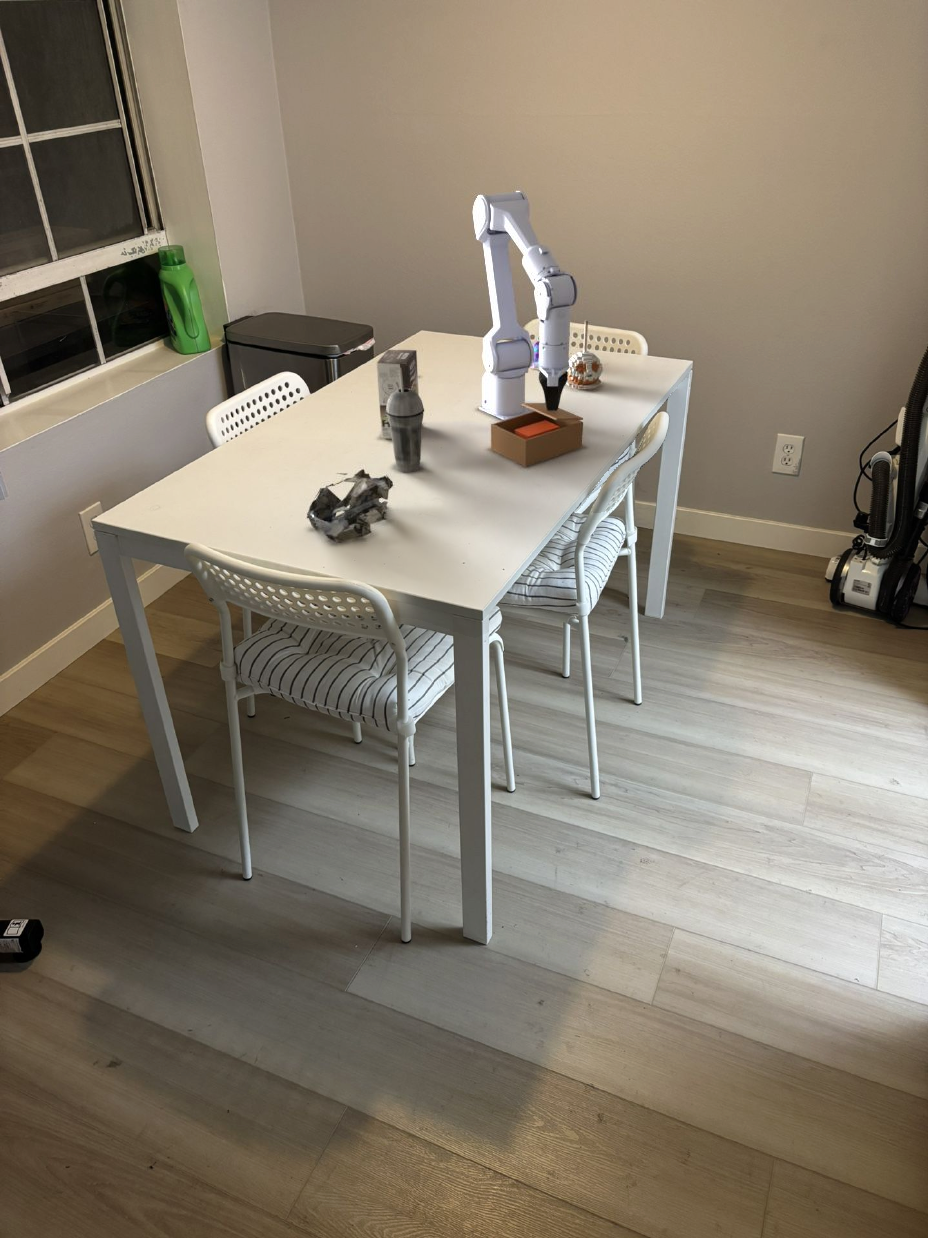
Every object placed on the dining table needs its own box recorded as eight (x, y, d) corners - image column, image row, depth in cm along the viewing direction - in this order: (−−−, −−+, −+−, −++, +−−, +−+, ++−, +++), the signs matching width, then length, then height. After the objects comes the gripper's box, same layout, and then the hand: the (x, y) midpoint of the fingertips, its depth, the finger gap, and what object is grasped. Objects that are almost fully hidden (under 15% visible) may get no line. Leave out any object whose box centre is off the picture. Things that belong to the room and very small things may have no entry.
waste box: (546, 431, 199) (547, 406, 196) (582, 447, 191) (583, 421, 188) (491, 449, 192) (490, 424, 189) (525, 466, 184) (525, 440, 181)
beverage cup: (432, 461, 187) (428, 361, 176) (418, 476, 181) (413, 374, 170) (398, 457, 189) (391, 358, 178) (383, 472, 184) (376, 370, 172)
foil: (298, 497, 167) (365, 447, 165) (336, 541, 173) (402, 493, 170) (298, 525, 157) (370, 472, 155) (339, 570, 163) (410, 520, 160)
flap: (547, 404, 195) (547, 402, 195) (582, 419, 188) (583, 417, 188) (520, 404, 191) (521, 402, 191) (556, 420, 184) (556, 418, 184)
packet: (514, 448, 191) (514, 429, 189) (544, 438, 195) (545, 419, 192) (528, 455, 188) (528, 436, 186) (559, 445, 192) (559, 426, 189)
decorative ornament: (572, 392, 217) (575, 326, 209) (562, 381, 224) (564, 317, 216) (604, 389, 219) (608, 323, 211) (593, 378, 225) (597, 314, 217)
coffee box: (411, 440, 196) (406, 363, 187) (380, 438, 197) (375, 362, 189) (421, 423, 204) (417, 349, 195) (392, 422, 205) (387, 347, 196)
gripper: (534, 329, 188) (533, 395, 196) (531, 352, 176) (530, 422, 184) (570, 329, 188) (567, 396, 195) (570, 353, 176) (567, 423, 183)
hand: (552, 409), depth 189 cm, fingers closed
